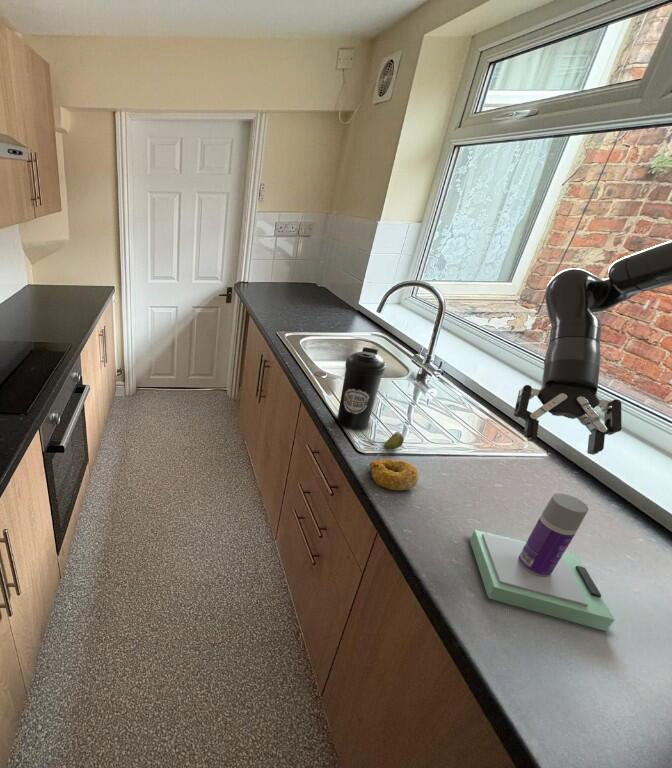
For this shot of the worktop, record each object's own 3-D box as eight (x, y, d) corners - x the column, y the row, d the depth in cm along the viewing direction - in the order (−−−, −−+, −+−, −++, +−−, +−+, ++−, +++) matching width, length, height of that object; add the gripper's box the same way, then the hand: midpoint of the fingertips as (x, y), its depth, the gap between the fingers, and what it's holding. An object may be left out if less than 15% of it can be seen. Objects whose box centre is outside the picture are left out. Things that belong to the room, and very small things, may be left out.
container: (550, 582, 72) (589, 517, 65) (516, 566, 74) (550, 503, 68) (551, 565, 75) (589, 501, 68) (519, 551, 78) (552, 488, 71)
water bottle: (330, 424, 124) (344, 353, 113) (338, 410, 131) (353, 342, 121) (366, 435, 119) (385, 361, 108) (373, 419, 126) (391, 349, 116)
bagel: (389, 462, 107) (394, 447, 105) (425, 489, 98) (431, 473, 96) (357, 469, 105) (361, 454, 103) (391, 498, 95) (396, 482, 93)
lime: (384, 450, 112) (388, 435, 110) (381, 441, 116) (385, 426, 114) (402, 453, 111) (407, 438, 108) (399, 443, 115) (403, 428, 112)
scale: (568, 564, 79) (577, 551, 77) (606, 631, 67) (616, 617, 66) (469, 540, 84) (475, 527, 83) (488, 598, 73) (495, 584, 71)
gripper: (531, 351, 79) (520, 431, 75) (635, 365, 72) (628, 453, 69) (516, 366, 85) (505, 441, 81) (610, 380, 79) (602, 462, 75)
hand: (561, 446), depth 75 cm, fingers open, 8 cm apart
